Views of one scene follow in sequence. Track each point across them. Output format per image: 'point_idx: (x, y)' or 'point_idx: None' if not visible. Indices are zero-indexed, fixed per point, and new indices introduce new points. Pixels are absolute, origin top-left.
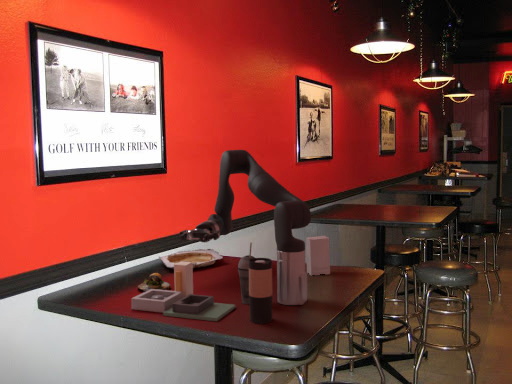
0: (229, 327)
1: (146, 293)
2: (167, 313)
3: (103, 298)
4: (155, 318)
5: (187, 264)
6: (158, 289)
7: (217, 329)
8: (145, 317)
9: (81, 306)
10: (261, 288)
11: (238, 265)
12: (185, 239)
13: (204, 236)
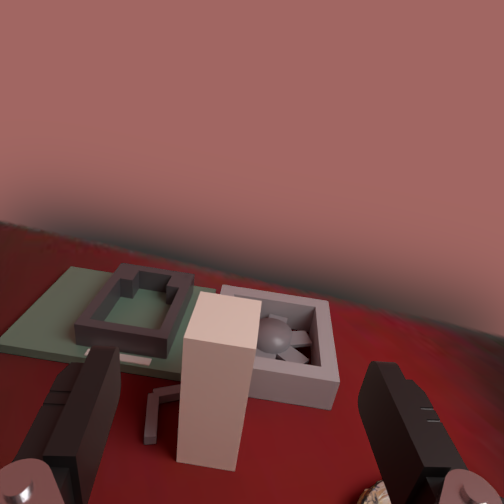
0: (43, 253)
1: (318, 337)
2: (203, 288)
3: (490, 400)
4: (225, 283)
5: (196, 303)
6: (373, 497)
7: (72, 247)
8: (251, 287)
9: (463, 336)
10: None
11: None
12: (382, 472)
13: (110, 347)
